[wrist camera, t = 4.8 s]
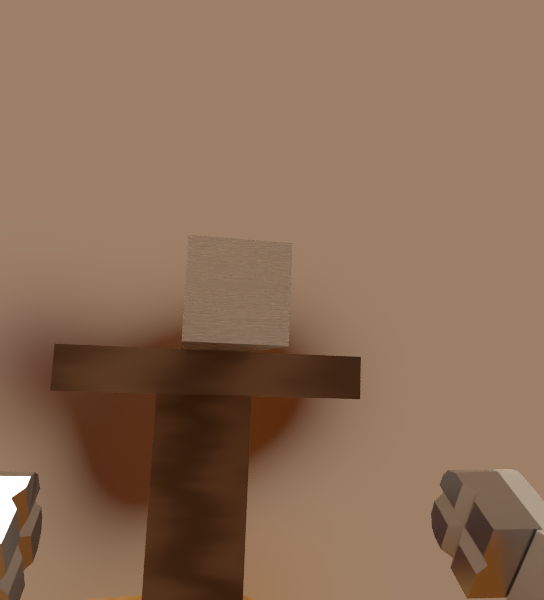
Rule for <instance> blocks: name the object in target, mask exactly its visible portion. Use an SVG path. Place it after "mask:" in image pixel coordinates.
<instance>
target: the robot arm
mask: <svg viewBox="0 0 544 600" xmlns="http://www.w3.org/2000/svg"><path fill="white" fill-rule="evenodd" d="M440 486H441V488H442V490H443V492H444V493H443V494H442V495H441V496H440V497H439V498H437V499H436V500H435V501H434V505H433V509H432V513H431V519H432V529H433V532H434V535H435V538H436V540H437V542H438V544H439V546H440V548H441V549H442V550H443V551H444V552H446V553H447V554H448V555H450V556H451V557H452V564H451V569H452V571H453V573H454V575H455V577H456V579H457V581H458V582H459V584H460V586H461V588H462V590H463V592H464V594H465V596H466V597H467V598H507V600H544V501H543V500H542V498H541V497H540V496H539V495H538V494H537V493H536V492H535V490H534V489H533V488H532V487H531V485H530V484H529V483H528V482H527V481H526V479H525V478H524V477H523V476H522V475H521V474H520V473H519V472H517V471H516V470H514V469H497V470H496V469H494V470H448V471H447V472H446V473H445V474H444V475H443V477H442V480H441V483H440ZM39 489H40V487H39V478H38V474H36V473H35V472H0V600H20V597H21V595H22V592H23V589H24V586H25V583H24V573H23V570H25V568H27V567H28V566H29V565H30V564H31V563H32V562H33V560H34V558H35V555H36V552H37V548H38V544H39V539H40V534H41V525H42V510H41V507H40V506H39V505H38V504H37V503H36V502H35V500H36V497H37V495H38V492H39Z"/></svg>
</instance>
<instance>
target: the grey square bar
mask: <svg viewBox="0 0 544 600" xmlns="http://www.w3.org/2000/svg"><path fill="white" fill-rule="evenodd" d="M187 253H188V254H187V269H186V284H185V300H184V317H183V333H182V349H185V350H208V351H231V352H253V351H259V350H266V349H272V348H279V347H285V346H289V319H290V318H289V317H290V290H291V289H290V288H291V261H292V260H291V259H292V244H291V243H279V242H266V241H255V240H243V239H230V238H219V237H206V236H194V235H189V237H188V252H187Z"/></svg>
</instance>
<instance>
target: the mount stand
mask: <svg viewBox="0 0 544 600" xmlns="http://www.w3.org/2000/svg"><path fill="white" fill-rule="evenodd" d="M360 365H361V358H360V357H346V356H324V355H301V354H278V353H255V352H254V353H253V352H231V351H208V350H185V349H162V348H161V349H160V348H138V347H114V346H92V345H67V344H55V346H54V356H53V367H52V378H51V388H50V390H53V391H89V392H125V393H156V401H155V416H154V430H153V445H152V460H151V474H150V489H149V503H148V517H147V533H146V546H145V561H144V575H143V590H142V600H243V579H244V556H245V555H244V554H245V532H246V509H247V486H248V463H249V441H250V416H251V396H269V397H306V398H307V397H308V398H342V399H360Z"/></svg>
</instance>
